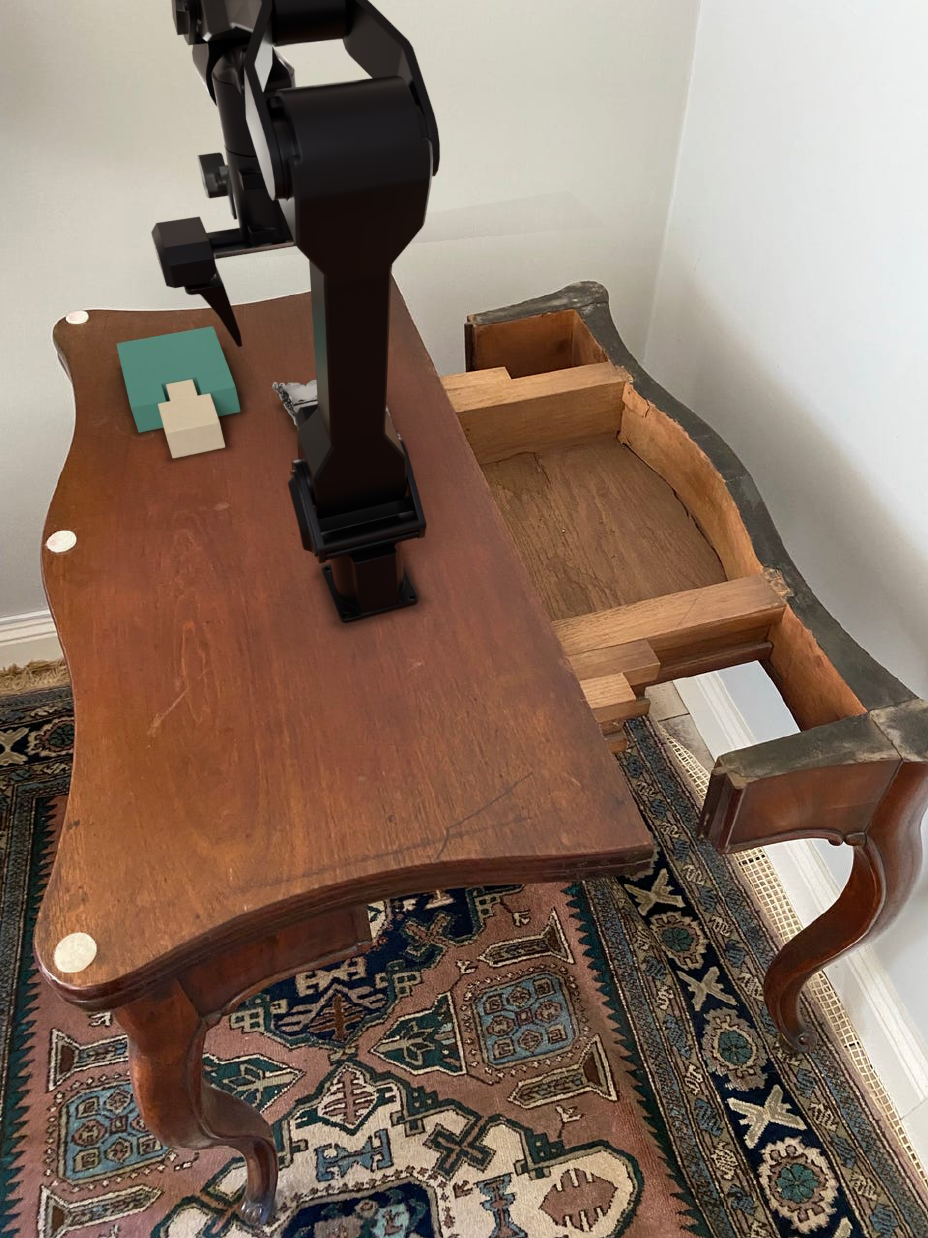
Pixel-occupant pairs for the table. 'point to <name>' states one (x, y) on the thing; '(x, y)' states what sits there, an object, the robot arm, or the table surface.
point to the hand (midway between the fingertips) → (292, 334)
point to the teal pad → (175, 372)
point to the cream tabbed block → (190, 421)
